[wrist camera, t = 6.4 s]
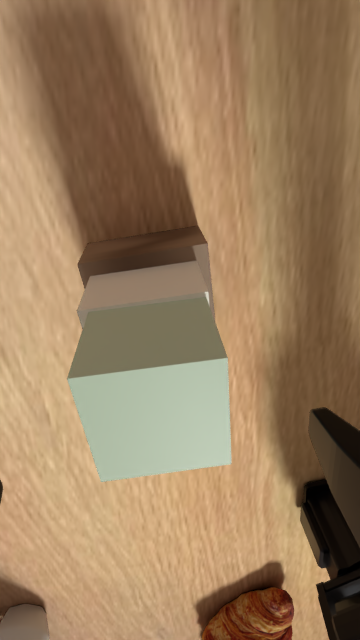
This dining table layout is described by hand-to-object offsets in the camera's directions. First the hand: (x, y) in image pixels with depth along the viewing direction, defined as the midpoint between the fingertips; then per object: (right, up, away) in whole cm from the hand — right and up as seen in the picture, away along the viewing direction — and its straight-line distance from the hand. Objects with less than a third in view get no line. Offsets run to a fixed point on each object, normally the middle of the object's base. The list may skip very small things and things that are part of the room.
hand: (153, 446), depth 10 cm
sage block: (0, +2, +5) cm, 5 cm away
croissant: (+8, -33, +33) cm, 47 cm away
